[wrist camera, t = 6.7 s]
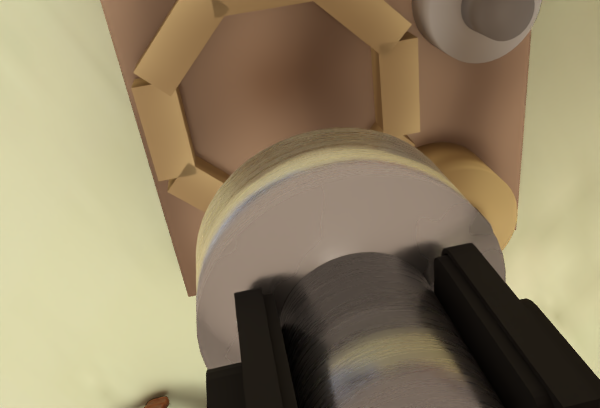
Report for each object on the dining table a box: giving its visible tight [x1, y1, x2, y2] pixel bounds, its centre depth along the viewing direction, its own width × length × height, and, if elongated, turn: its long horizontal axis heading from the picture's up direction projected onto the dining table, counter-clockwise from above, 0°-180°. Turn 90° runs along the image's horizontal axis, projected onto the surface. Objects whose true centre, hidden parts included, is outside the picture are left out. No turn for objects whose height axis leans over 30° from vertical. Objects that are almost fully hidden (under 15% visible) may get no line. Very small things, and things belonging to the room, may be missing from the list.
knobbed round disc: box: [196, 127, 505, 408], centre depth 10 cm, size 6×6×7 cm
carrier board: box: [100, 0, 542, 297], centre depth 23 cm, size 17×15×6 cm
